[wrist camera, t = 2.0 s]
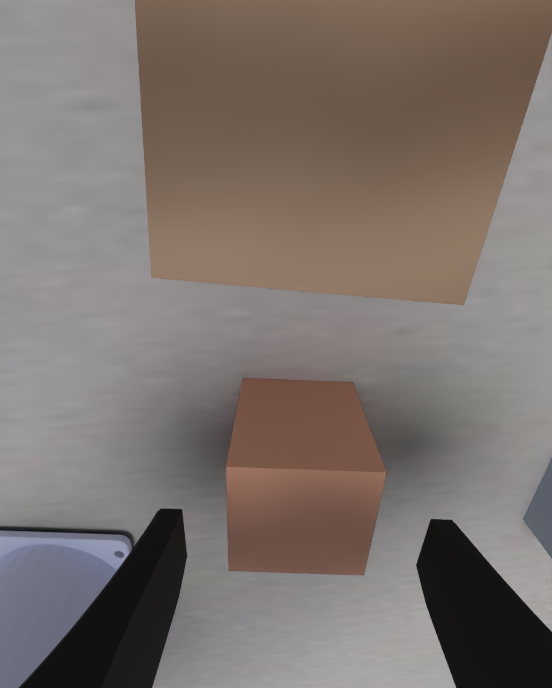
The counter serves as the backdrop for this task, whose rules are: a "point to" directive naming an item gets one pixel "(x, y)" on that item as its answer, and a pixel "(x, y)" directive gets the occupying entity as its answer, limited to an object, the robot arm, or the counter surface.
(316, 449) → the terracotta block
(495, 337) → the counter surface
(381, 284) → the walnut block
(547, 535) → the slate-grey block
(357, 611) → the counter surface
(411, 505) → the counter surface
